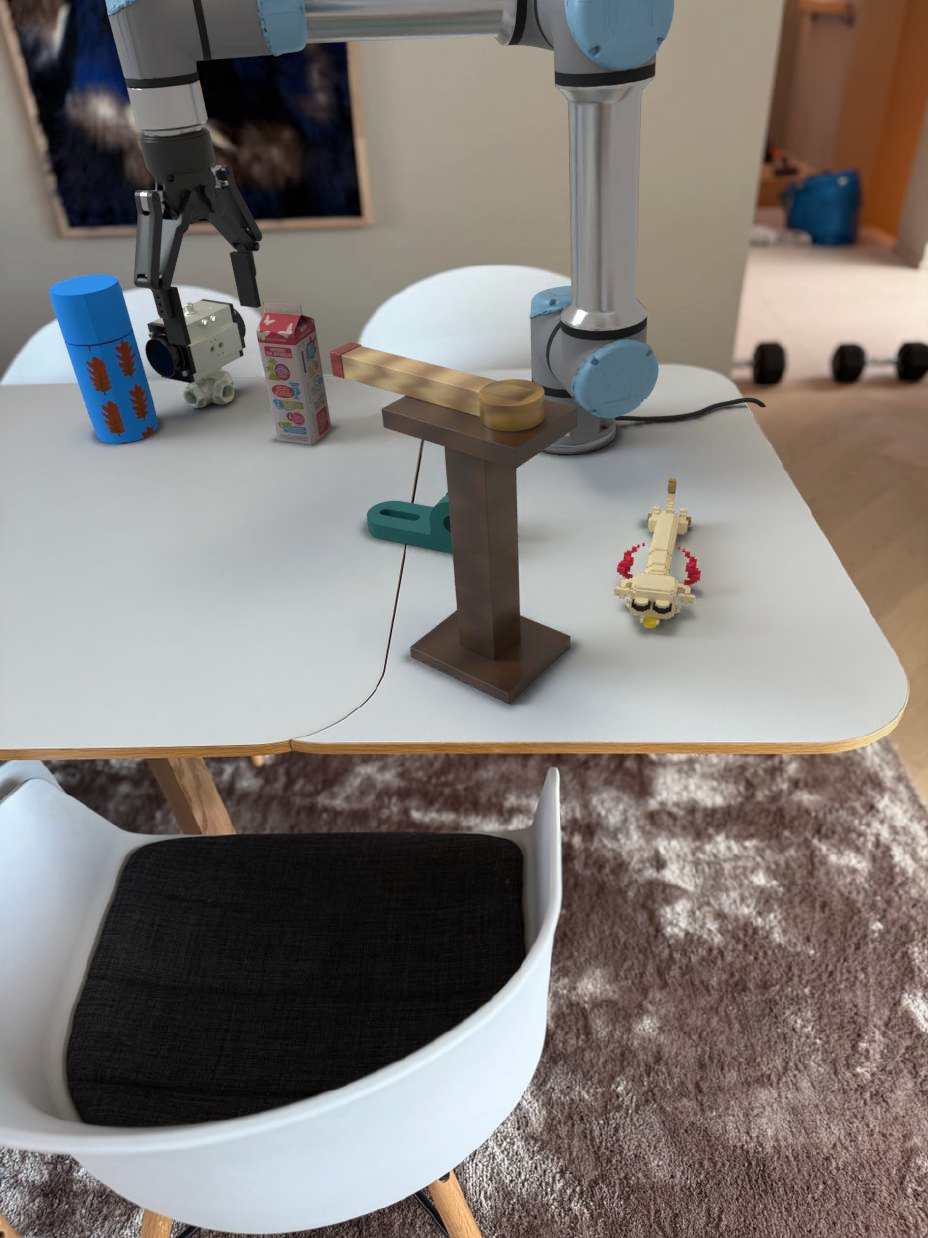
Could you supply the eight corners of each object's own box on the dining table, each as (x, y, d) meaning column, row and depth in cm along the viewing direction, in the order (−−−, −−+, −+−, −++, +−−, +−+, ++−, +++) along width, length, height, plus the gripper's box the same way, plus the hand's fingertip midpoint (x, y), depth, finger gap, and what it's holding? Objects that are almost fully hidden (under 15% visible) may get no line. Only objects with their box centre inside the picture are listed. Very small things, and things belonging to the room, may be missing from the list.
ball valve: (196, 424, 159) (170, 324, 148) (161, 416, 163) (134, 317, 152) (264, 386, 171) (244, 290, 160) (230, 379, 175) (209, 285, 164)
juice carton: (297, 423, 157) (273, 294, 144) (331, 427, 155) (310, 297, 142) (277, 440, 152) (251, 308, 139) (312, 445, 150) (289, 311, 137)
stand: (404, 653, 105) (373, 412, 87) (468, 602, 113) (452, 369, 95) (516, 708, 97) (508, 453, 79) (578, 649, 104) (583, 403, 86)
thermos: (172, 423, 160) (133, 278, 145) (125, 449, 153) (78, 299, 138) (130, 412, 165) (88, 270, 150) (83, 436, 158) (33, 290, 143)
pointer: (323, 380, 94) (319, 356, 93) (363, 361, 98) (359, 337, 96) (519, 437, 81) (518, 410, 80) (557, 412, 85) (557, 386, 83)
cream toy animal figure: (631, 529, 126) (605, 625, 106) (635, 470, 121) (609, 559, 101) (705, 536, 124) (692, 636, 104) (712, 476, 119) (700, 569, 99)
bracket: (497, 532, 125) (495, 482, 120) (477, 558, 120) (474, 506, 116) (382, 511, 132) (376, 462, 127) (359, 534, 127) (352, 484, 122)
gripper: (218, 108, 108) (253, 289, 121) (61, 151, 91) (121, 357, 104) (270, 109, 106) (300, 294, 118) (117, 153, 88) (172, 365, 101)
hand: (216, 324), depth 111 cm, fingers open, 13 cm apart
